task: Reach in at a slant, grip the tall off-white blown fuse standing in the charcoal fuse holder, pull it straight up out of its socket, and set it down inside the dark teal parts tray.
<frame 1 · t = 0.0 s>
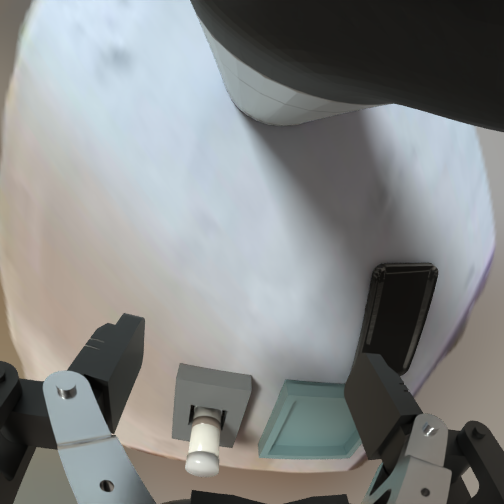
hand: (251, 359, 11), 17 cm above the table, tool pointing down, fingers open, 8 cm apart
blown fuse: (205, 434, 30), in the fuse holder
fuse holder: (208, 403, 34), on the table
phone: (390, 323, 31), on the table
parts tray: (321, 419, 36), on the table
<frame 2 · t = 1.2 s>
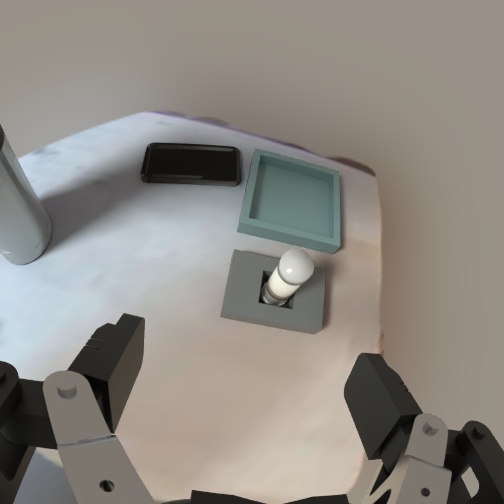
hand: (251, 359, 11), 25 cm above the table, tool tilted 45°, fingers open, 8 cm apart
blown fuse: (283, 282, 35), in the fuse holder
fuse holder: (272, 296, 39), on the table
phone: (191, 167, 46), on the table
parts tray: (290, 203, 46), on the table
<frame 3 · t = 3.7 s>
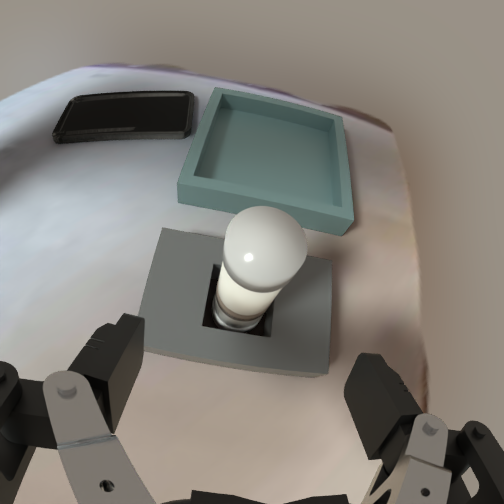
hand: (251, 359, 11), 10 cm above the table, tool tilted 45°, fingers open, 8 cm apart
blown fuse: (247, 285, 17), in the fuse holder
fuse holder: (235, 311, 21), on the table
phone: (124, 120, 29), on the table
parts tray: (269, 159, 29), on the table
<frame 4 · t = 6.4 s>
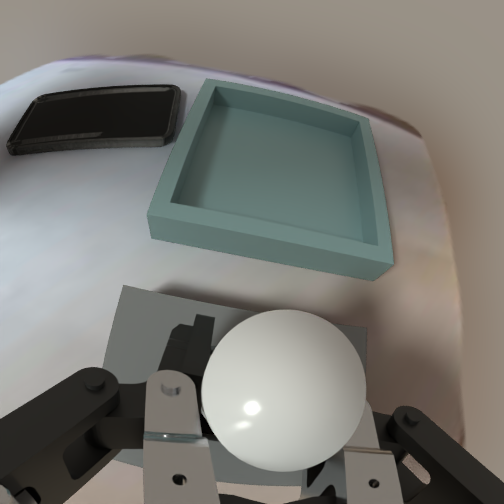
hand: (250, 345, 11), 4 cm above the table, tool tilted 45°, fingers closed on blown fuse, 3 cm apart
blown fuse: (247, 396, 10), in the fuse holder, touching gripper
fuse holder: (231, 397, 14), on the table
phone: (92, 123, 22), on the table
parts tray: (277, 173, 22), on the table
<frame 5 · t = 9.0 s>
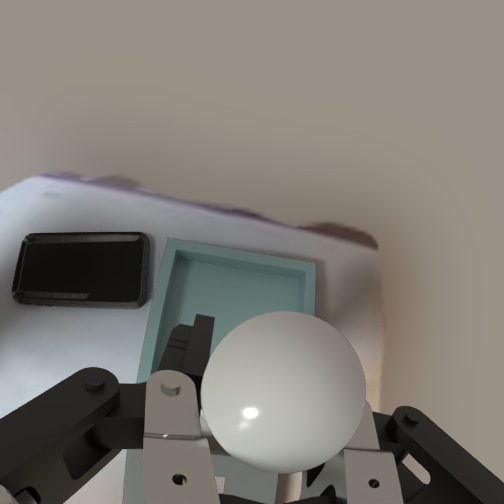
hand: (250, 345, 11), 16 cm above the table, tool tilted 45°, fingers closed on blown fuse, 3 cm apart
blown fuse: (247, 397, 10), point 16 cm above the table, touching gripper
fuse holder: (199, 488, 20), on the table
phone: (79, 272, 28), on the table
parts tray: (230, 331, 27), on the table
when the fingers open (6 cm above the table, at t = 11.9 s): blown fuse drops 1 cm, resting on parts tray.
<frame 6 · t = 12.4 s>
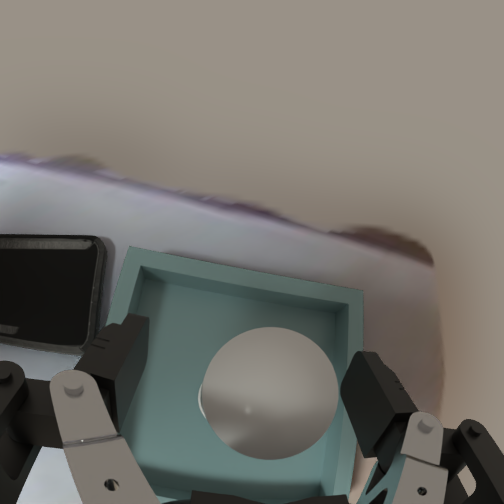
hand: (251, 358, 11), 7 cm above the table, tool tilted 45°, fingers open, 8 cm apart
blown fuse: (242, 397, 11), in the parts tray, point 6 cm above the table
phone: (12, 292, 17), on the table
parts tray: (227, 397, 16), on the table
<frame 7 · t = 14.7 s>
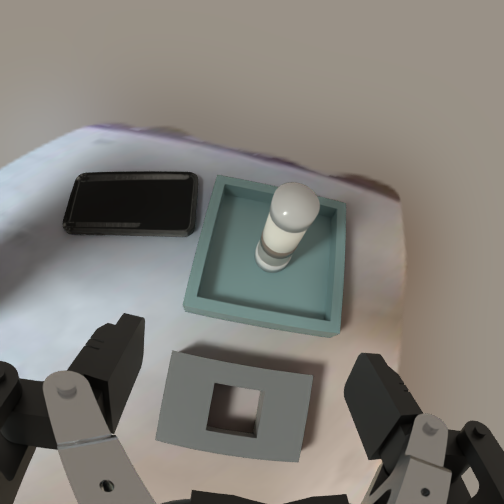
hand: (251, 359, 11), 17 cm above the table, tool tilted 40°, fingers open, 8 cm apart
blown fuse: (282, 233, 26), in the parts tray, point 6 cm above the table
fuse holder: (233, 408, 25), on the table
phone: (130, 206, 32), on the table
parts tray: (270, 258, 31), on the table
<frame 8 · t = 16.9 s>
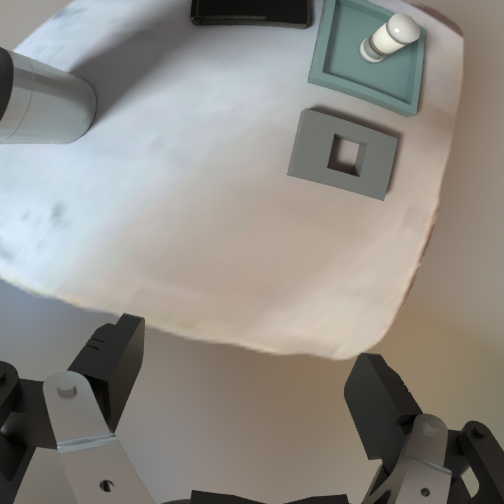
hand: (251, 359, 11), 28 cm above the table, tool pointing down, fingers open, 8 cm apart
blown fuse: (386, 40, 26), in the parts tray, point 6 cm above the table
fuse holder: (340, 155, 36), on the table
phone: (251, 3, 30), on the table
parts tray: (368, 53, 32), on the table
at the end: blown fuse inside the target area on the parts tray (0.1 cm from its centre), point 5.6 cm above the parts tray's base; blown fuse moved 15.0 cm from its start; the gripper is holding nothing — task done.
